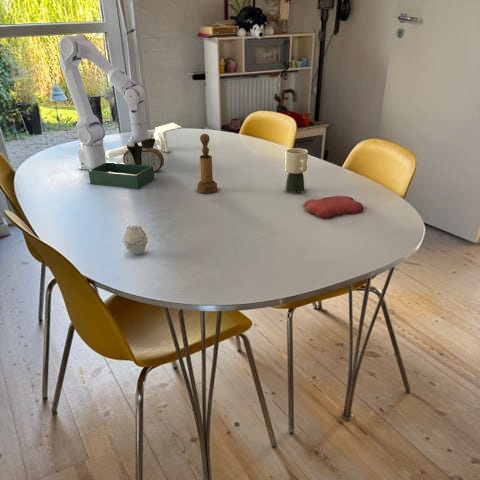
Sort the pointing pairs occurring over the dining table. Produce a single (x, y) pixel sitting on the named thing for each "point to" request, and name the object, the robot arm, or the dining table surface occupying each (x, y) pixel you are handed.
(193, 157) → the dining table surface
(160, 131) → the paper towel holder
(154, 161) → the tin
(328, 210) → the patty
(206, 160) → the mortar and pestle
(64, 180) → the dining table surface
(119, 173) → the tote
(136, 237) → the off-white lumpy ball
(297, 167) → the character mug
